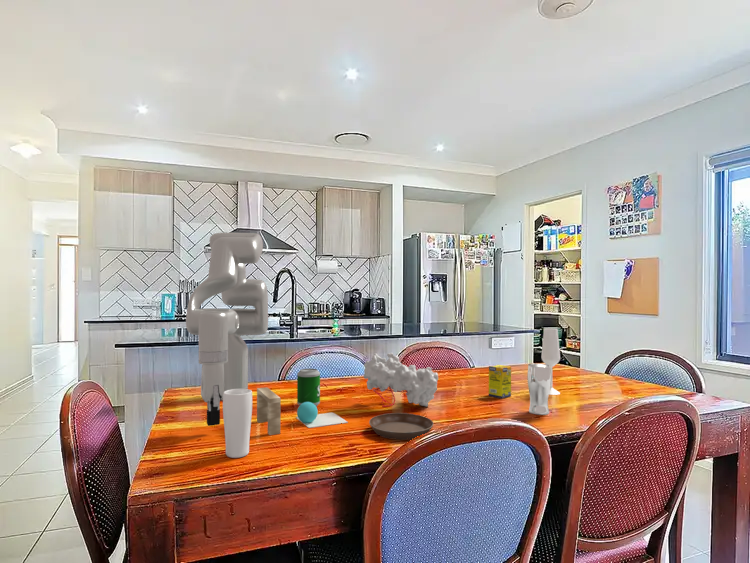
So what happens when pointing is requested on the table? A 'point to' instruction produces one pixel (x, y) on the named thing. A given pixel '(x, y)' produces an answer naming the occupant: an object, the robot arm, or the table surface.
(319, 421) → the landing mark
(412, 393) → the molecular structure model
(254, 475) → the table surface
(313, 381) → the soda can
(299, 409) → the ball
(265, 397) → the bridge
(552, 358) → the champagne flute
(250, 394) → the drinking glass
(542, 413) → the white vase
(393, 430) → the plant saucer
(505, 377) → the supplement box
